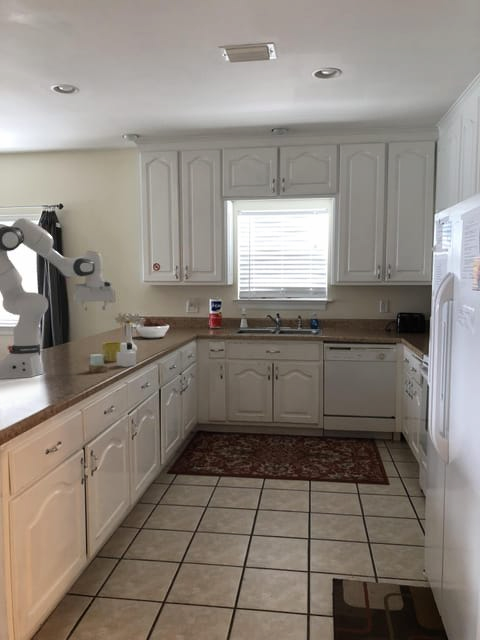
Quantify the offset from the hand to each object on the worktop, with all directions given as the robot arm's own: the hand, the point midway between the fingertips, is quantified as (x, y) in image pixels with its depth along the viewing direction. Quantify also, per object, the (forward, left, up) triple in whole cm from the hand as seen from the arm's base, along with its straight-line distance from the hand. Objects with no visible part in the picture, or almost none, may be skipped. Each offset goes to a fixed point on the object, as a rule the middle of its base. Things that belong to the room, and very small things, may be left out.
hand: (94, 310), depth 263 cm
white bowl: (+71, +101, -29) cm, 127 cm away
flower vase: (+29, +30, -29) cm, 51 cm away
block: (-3, -15, -29) cm, 33 cm away
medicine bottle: (+15, -6, -29) cm, 33 cm away
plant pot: (+13, +13, -29) cm, 35 cm away
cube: (-3, -14, -26) cm, 30 cm away
